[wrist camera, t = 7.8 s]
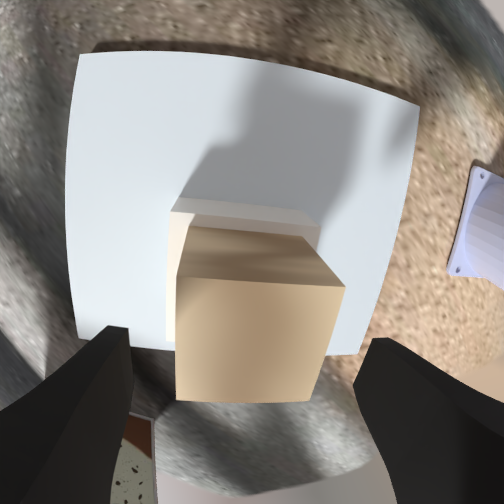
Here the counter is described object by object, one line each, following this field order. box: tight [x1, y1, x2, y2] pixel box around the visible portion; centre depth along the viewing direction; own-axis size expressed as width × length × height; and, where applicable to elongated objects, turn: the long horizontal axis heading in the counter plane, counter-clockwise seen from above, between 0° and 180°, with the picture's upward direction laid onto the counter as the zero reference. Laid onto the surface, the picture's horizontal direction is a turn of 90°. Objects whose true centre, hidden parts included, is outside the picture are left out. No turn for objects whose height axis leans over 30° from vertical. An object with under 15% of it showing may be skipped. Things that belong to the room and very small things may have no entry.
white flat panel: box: [65, 51, 420, 355], centre depth 15 cm, size 18×16×1 cm
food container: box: [110, 412, 158, 504], centre depth 16 cm, size 12×6×10 cm, turn 66°
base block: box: [166, 197, 321, 342], centre depth 14 cm, size 6×6×3 cm
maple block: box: [175, 226, 346, 403], centre depth 11 cm, size 4×4×4 cm
